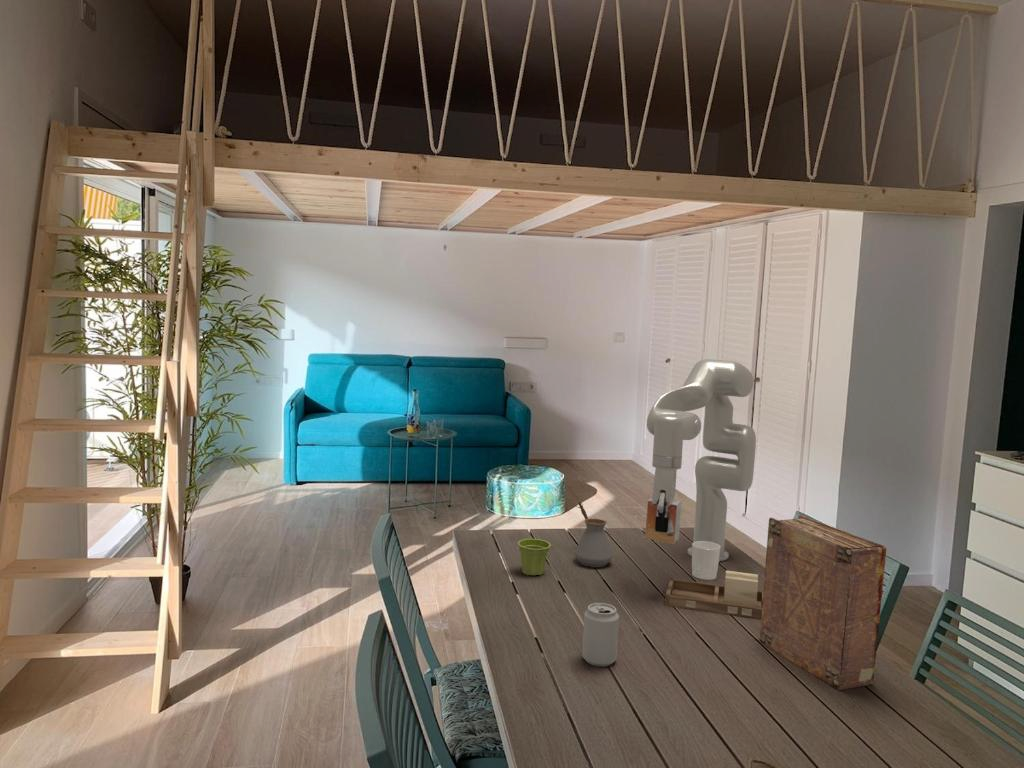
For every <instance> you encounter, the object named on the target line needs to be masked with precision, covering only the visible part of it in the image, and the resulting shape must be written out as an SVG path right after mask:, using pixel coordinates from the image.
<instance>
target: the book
mask: <svg viewBox="0 0 1024 768" xmlns="http://www.w3.org/2000/svg"><path fill="white" fill-rule="evenodd" d="M765 553H766V557H765V565H764V568H765V569H764V580H763V582H764V583H763V590H762V591H763V604H762V617H761V619H760V633H759V643H761V644H762V645H764V646H765V647H767V648H768V649H770V650H772V651H773V652H775V653H777V654H779V655H780V656H782V657H784V658H785V659H787V660H788V661H790V662H791V663H793V664H795V665H796V666H798V667H800V668H802V669H803V670H805V671H806V672H808V673H809V674H811V675H813V676H814V677H816V678H818V679H820V680H821V681H823V682H825V683H826V684H828V685H829V686H830V687H833V688H834V689H836V690H837V691H844V690H848V689H854V688H860V687H865V686H870V685H873V684H874V679H875V678H874V676H875V669H876V666H875V665H876V658H877V657H876V656H877V648H878V639H879V630H880V629H879V626H880V618H881V607H882V606H881V605H882V599H883V598H882V597H883V590H884V589H883V587H884V578H885V569H886V568H885V567H886V556H887V547H886V546H885V545H882V544H880V543H877V542H874V541H871V540H868V539H866V538H863V537H860V536H858V535H856V534H852V533H850V532H847V531H844V530H842V529H840V528H836V527H834V526H831V525H828V524H826V523H823V522H820V521H817V520H815V519H813V518H810V517H807V516H804V515H799V516H798V518H793V519H791V518H790V519H776V518H774V517H769V519H768V527H767V542H766V551H765Z"/></svg>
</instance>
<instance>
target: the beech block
mask: <svg viewBox="0 0 1024 768" xmlns="http://www.w3.org/2000/svg"><path fill="white" fill-rule="evenodd" d="M724 586H725V591H724V603H730V604H737V605H744V606H751V607H756V603H757V590H758V589H759V587H758V586H759V574H756V573H747V572H740V571H739V572H738V571H733V570H731V571H730V570H725V580H724Z"/></svg>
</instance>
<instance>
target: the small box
mask: <svg viewBox="0 0 1024 768" xmlns="http://www.w3.org/2000/svg"><path fill="white" fill-rule="evenodd" d="M657 504H658V502H657V503H656V504H655V505H653V504H652V497H651V498H650V499H648V500H647V507H646V521H645V535H644V539H646V540H652V541H656V542H663V543H666V544H667V543H668V544H672V545H674V544H675V543H676V542H677V541H678V540H679V539H680V526H681V514H682V513H681V512H682V511H681V510H682V500H681V499H680V500H677V499H674V500H673V502H672V503H671V506H669V507H668V515H667V517H668V531H667V532H666V533H665V532H658V531H655V522H656V514H657ZM664 505H667V503H664ZM664 509H665V510H666V508H664Z"/></svg>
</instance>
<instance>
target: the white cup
mask: <svg viewBox="0 0 1024 768" xmlns="http://www.w3.org/2000/svg"><path fill="white" fill-rule="evenodd" d="M691 544H692V545H691V547H692V557H691V569H692V570H691V573H692V577H694V578H697V579H699V580H700V579H701V580H709V581H711V580H714V579H717V576H718V575H717V574H718V570H719V569H718V568H719V562H720V561H719V556H720V545H718V544H716V543H713V542H707V541H696V542H692V543H691Z"/></svg>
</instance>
